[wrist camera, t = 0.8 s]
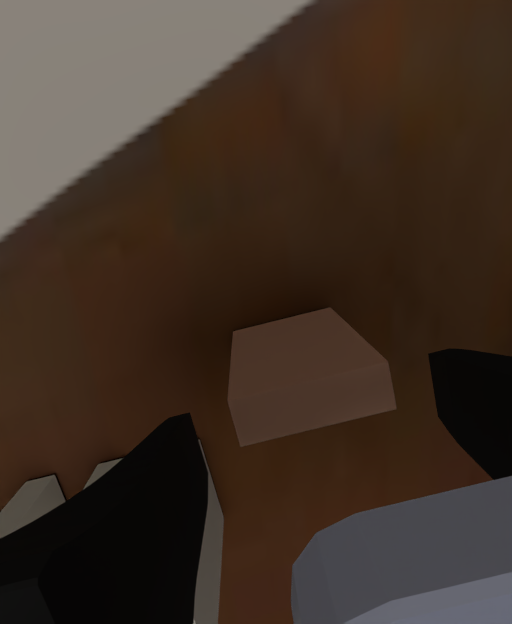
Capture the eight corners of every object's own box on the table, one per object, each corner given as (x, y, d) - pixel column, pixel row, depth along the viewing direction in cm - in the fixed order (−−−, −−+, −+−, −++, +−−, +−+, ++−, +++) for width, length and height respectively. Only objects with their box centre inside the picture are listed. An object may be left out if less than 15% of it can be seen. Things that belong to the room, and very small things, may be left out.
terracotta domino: (233, 331, 20) (227, 400, 12) (330, 307, 20) (388, 361, 12) (240, 360, 20) (240, 446, 12) (336, 337, 20) (396, 409, 12)
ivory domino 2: (199, 439, 21) (175, 565, 13) (223, 517, 22) (214, 677, 14) (170, 446, 21) (129, 576, 13) (196, 524, 22) (171, 687, 14)
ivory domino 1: (54, 474, 21) (-55, 620, 13) (85, 551, 22) (1, 726, 14) (26, 481, 21) (-100, 631, 13) (58, 557, 22) (-40, 736, 15)
